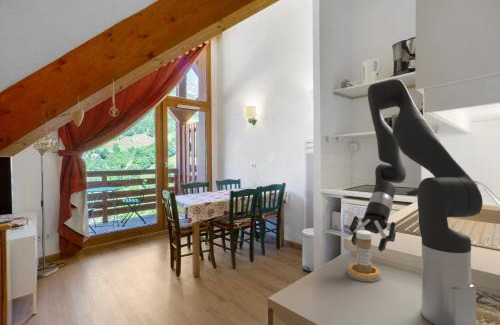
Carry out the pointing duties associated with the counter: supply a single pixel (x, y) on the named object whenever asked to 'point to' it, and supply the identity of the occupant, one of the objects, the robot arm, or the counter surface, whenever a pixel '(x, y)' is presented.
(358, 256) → the spice jar
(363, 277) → the orange rimmed grey dish
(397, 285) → the counter surface
